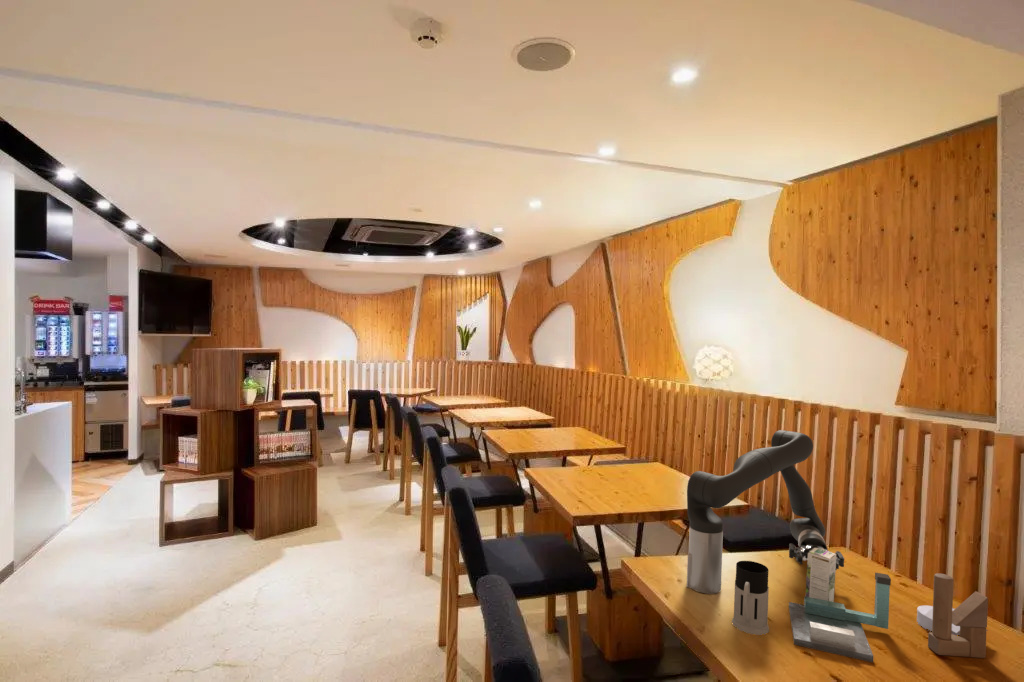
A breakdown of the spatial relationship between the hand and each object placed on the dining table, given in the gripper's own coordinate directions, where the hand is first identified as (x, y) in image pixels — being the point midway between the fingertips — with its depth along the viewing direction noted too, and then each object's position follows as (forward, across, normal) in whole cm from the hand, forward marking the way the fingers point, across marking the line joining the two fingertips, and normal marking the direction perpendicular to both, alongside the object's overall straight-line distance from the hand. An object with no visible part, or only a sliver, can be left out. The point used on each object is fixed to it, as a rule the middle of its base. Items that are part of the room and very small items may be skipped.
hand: (818, 563), depth 155 cm
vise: (+22, 0, +9) cm, 24 cm away
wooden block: (+18, +27, +9) cm, 34 cm away
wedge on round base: (+7, +28, +9) cm, 30 cm away
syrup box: (+6, 0, +9) cm, 11 cm away
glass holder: (+30, -18, +9) cm, 36 cm away
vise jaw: (+15, +5, +7) cm, 18 cm away
